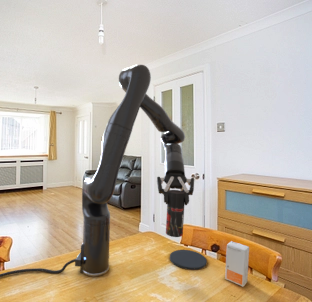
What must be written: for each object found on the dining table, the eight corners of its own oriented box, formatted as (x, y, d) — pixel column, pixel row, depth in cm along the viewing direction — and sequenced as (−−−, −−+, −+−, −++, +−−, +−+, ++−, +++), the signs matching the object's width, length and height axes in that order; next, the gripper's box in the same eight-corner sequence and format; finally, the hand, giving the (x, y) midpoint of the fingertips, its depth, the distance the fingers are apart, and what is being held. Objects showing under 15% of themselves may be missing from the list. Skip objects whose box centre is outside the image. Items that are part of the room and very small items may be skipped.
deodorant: (182, 238, 76) (185, 194, 75) (165, 235, 77) (167, 192, 76) (182, 231, 82) (185, 190, 81) (166, 229, 83) (168, 189, 82)
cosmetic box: (224, 279, 75) (226, 244, 75) (229, 274, 78) (230, 240, 78) (243, 287, 71) (245, 250, 71) (248, 282, 74) (249, 246, 74)
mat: (171, 268, 81) (171, 266, 81) (168, 250, 95) (168, 248, 95) (210, 271, 80) (211, 268, 80) (201, 252, 94) (202, 250, 94)
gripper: (156, 159, 86) (156, 196, 75) (194, 160, 85) (199, 198, 74) (155, 171, 92) (155, 208, 80) (191, 172, 91) (196, 210, 79)
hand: (176, 203), depth 77 cm, fingers closed on deodorant, 6 cm apart
